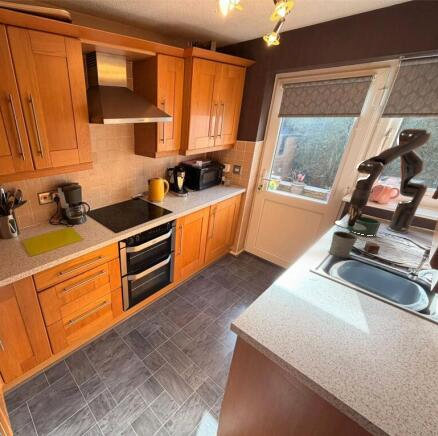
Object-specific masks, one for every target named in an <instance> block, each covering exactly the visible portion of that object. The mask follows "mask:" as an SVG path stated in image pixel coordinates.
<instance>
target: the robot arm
mask: <svg viewBox="0 0 438 436" xmlns="http://www.w3.org/2000/svg"><path fill="white" fill-rule="evenodd" d="M431 135H432V132H431V130H429V129H423V128H406V129H403V130H402V131H401V132H400V133H399V135H398V138H397V145H395V146H392V147H388V148H387V149H384V150H383V151H380V152H379V153H378V154H376V155H374V156H372V157H369V158H367V159H364V160H363V161H360V162H359V164H358V165H357V167H356V170H357V172H358V173H359V174H363V175H368V176H366V177H360V178H358V179H357V180H356V184H355V187H354V189H353V191H352V194H351V197H350V200H349V204H350V205H349V206H348V210H347V211H348V212H347V215H348V219H347V221H348V222H349V219H350V216H352V218H351V221H350V225H353V226H354V225H355V222H356V220H359V219H360V217H363V214H364V212H363V211H362V209H363V207H366V206H367V204H368V202H369V199H370V197H371V192H372V189H373V186H374V184H375V182H376V181H377V179H378V178H379V177H380V175H381V174H382V172H383V171H384V168H385V166H387V165H389V164H391V163H392V162H394V161H395V160H396V159H398V158H399V159H400V163H399V166H400V167H399V168H400V186H399V194H400V195H401V196H402V197H406V198H411V200H400V201H399V202H398V203H397V205H396V208H395V210H394V212H393V215H392V216H391V219H390V221H389V223H388V226H387V230H389V231H391V232H394V233H398V234H407V233H408V230H409V228H410V226H411V224H412V222H413V219H414V217H415V215H416V213H417V210H418V208H419V206H420V205H421V202H422V200H423V199H424V196H425V195H426V193H427V190H428V186H427V184H424V183H417V182H412V179H414V178H416V177H417V176H418V175H420V174H421V173H422V172H423V171H424V164H425V163H424V158H423V157H422V156H421V154H420V153H418V151H416V149H419V148H421V147H423V146H424V145H426V143H428V141H430V138H431Z"/></svg>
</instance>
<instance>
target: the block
mask: <svg viewBox="0 0 438 436" xmlns="http://www.w3.org/2000/svg"><path fill="white" fill-rule="evenodd" d="M363 247H364V248H363V250H364V251H365V252H366V253H369V254H375V255H378V254H379V251H380V249H381V246H380V245H379V244H378V243H376V242H371V241H366V243H365V245H364V246H363Z"/></svg>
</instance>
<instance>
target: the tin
mask: <svg viewBox="0 0 438 436" xmlns="http://www.w3.org/2000/svg"><path fill="white" fill-rule="evenodd" d="M355 223H358V224H361V225H363V226H365V227H366V230H365V231H354V230H349V229H348V231H349V233H350V234H353V235H355V236H359V237H365V238H375V237H376V236H377V235H378V232H379V229H380V227H381V220H378V219H375V218H372V217H369V216H368V217H366V216H361V217H360V219H359V220H356V222H355ZM352 231H353V232H352ZM354 232H356V233H354ZM357 233H360V234H357ZM361 234H364V235H361ZM367 235H373V236H367ZM374 235H375V236H374Z"/></svg>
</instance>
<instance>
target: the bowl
mask: <svg viewBox="0 0 438 436" xmlns="http://www.w3.org/2000/svg"><path fill="white" fill-rule="evenodd" d="M351 218H352V216H350V219H349V218H348V219H349V222H348V220H336V221H335V222H334V224H335V225H336V226H337V227H339V228H342V229H345V230H348V231H349V230H354V231H365V230H366V227H365V226H363V225H361V224H358V223H355V225H354V226H353V225H350V221H351Z"/></svg>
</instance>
